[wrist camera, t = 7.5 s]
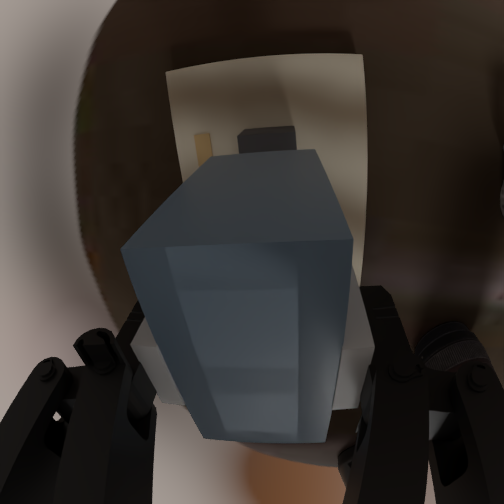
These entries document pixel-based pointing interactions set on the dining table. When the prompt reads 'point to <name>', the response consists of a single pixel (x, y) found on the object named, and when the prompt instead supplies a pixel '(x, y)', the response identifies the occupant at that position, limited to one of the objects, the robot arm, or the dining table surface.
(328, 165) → the board
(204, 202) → the block
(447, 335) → the camera lens
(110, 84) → the dining table surface
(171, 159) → the dining table surface
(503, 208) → the mug
